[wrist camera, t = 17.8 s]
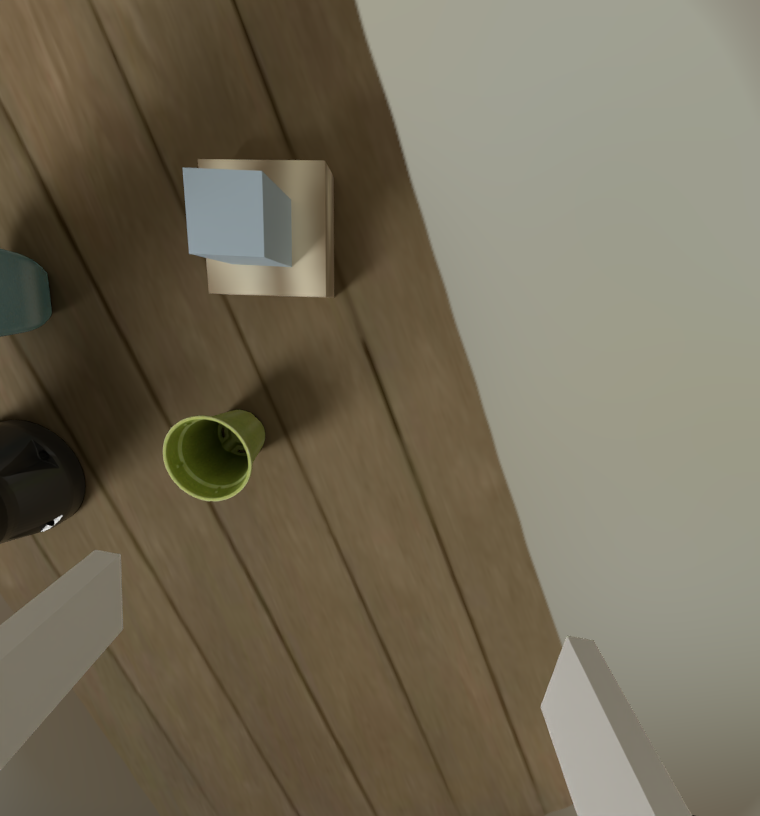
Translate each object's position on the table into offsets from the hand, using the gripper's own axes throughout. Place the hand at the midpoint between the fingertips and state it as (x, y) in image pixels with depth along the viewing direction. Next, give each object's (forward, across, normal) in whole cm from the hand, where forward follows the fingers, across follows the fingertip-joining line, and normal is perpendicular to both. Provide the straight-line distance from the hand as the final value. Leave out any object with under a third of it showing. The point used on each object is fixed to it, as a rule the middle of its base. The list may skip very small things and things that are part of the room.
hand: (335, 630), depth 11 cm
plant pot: (+35, -17, -9) cm, 40 cm away
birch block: (+35, -14, +14) cm, 41 cm away
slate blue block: (+30, -14, +14) cm, 36 cm away
